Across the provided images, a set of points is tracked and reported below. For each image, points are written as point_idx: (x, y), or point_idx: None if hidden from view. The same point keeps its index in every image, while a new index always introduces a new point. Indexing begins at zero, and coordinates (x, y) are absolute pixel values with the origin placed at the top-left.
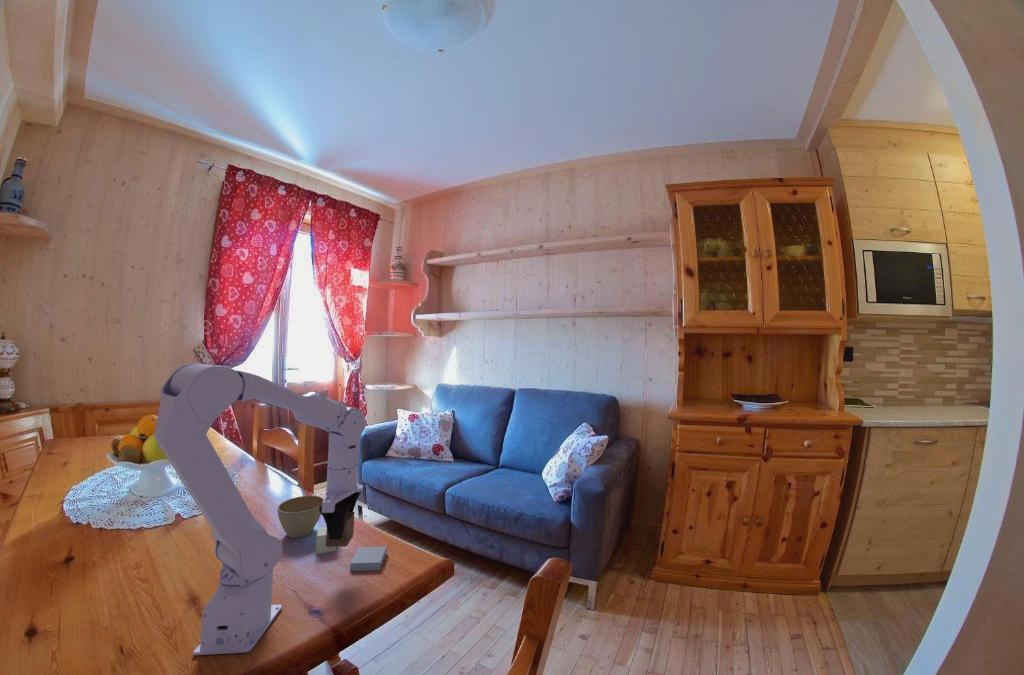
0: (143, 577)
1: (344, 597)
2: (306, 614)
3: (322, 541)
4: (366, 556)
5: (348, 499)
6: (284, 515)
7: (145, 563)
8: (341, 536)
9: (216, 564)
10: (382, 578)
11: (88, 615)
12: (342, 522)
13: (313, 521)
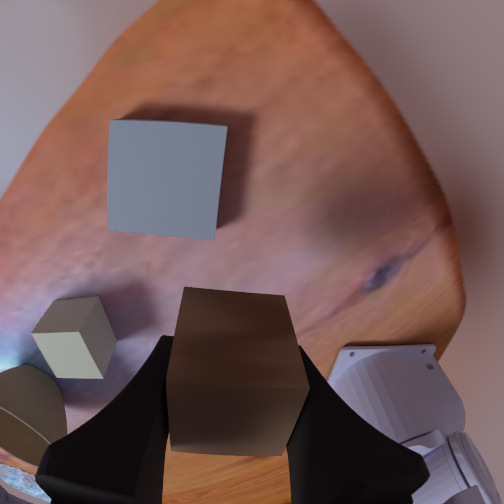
0: (196, 495)
1: (350, 218)
2: (381, 292)
3: (102, 351)
4: (175, 188)
5: (152, 481)
6: None
7: (164, 499)
8: None
9: (165, 461)
10: (283, 109)
11: (267, 497)
12: (350, 408)
13: (29, 388)
